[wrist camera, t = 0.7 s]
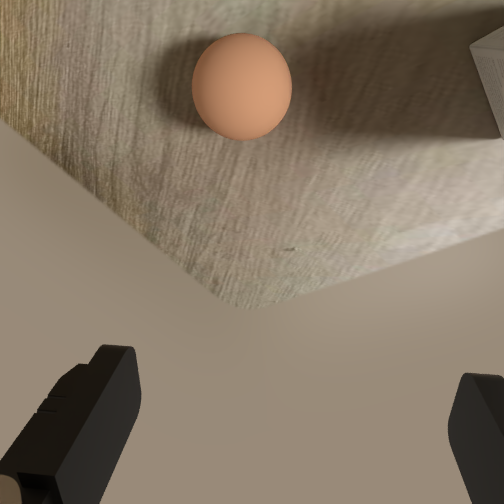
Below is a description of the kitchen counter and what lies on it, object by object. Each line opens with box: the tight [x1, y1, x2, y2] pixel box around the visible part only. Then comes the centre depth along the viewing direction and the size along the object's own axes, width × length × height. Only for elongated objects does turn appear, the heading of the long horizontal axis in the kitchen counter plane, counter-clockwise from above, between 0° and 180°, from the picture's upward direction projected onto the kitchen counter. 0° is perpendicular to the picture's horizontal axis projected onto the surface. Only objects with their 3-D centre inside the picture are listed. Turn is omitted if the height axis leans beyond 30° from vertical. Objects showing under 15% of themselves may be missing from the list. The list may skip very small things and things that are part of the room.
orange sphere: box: [192, 33, 292, 140], centre depth 23 cm, size 5×5×5 cm
